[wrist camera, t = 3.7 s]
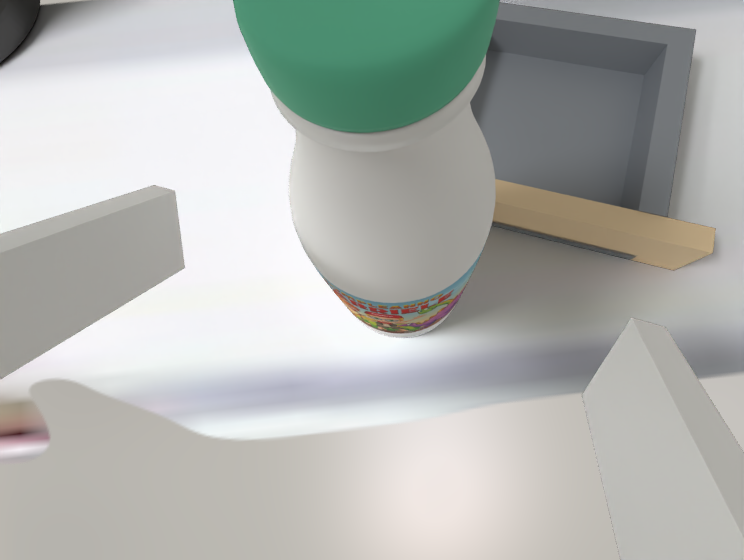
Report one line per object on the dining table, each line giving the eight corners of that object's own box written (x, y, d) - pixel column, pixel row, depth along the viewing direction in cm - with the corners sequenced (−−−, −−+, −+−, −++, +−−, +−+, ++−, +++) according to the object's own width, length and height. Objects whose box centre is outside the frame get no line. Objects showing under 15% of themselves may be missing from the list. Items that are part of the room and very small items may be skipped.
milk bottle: (340, 235, 26) (147, -156, 7) (450, 221, 26) (555, -247, 7) (348, 345, 24) (107, 199, 5) (469, 332, 24) (701, 112, 5)
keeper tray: (370, 195, 27) (364, 170, 24) (428, 33, 30) (430, -8, 27) (673, 270, 23) (714, 252, 20) (701, 77, 27) (740, 35, 24)
